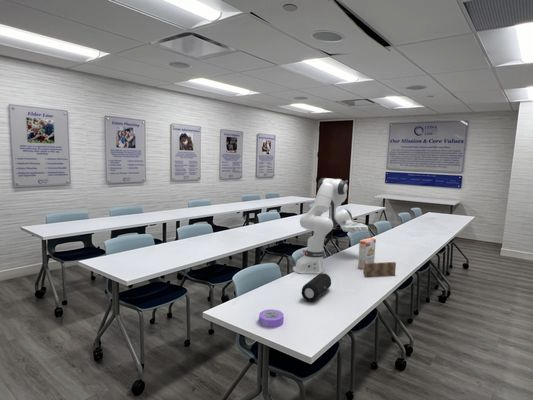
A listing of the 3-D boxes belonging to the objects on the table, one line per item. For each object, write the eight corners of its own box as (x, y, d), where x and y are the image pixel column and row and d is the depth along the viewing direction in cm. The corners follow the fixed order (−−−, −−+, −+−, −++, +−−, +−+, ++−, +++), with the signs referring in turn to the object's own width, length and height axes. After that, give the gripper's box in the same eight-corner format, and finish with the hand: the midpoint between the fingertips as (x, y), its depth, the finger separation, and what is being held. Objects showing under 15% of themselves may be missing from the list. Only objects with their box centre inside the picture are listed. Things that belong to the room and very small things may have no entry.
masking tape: (255, 325, 159) (255, 317, 159) (264, 314, 170) (264, 307, 170) (278, 330, 155) (279, 322, 155) (286, 319, 166) (286, 311, 166)
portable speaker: (316, 304, 183) (317, 286, 182) (299, 300, 188) (300, 283, 187) (332, 289, 205) (332, 273, 204) (316, 286, 210) (317, 270, 209)
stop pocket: (365, 277, 228) (366, 264, 227) (360, 273, 235) (361, 261, 234) (395, 275, 233) (395, 262, 232) (389, 272, 239) (390, 259, 238)
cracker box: (365, 270, 243) (366, 241, 241) (357, 268, 247) (358, 240, 245) (374, 266, 253) (376, 238, 250) (367, 264, 257) (368, 237, 255)
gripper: (339, 223, 271) (347, 226, 257) (363, 222, 275) (371, 226, 261) (339, 231, 272) (346, 234, 258) (363, 230, 276) (371, 234, 262)
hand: (359, 230), depth 260 cm, fingers closed
